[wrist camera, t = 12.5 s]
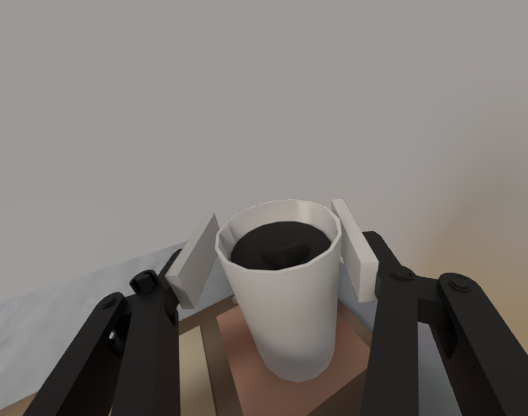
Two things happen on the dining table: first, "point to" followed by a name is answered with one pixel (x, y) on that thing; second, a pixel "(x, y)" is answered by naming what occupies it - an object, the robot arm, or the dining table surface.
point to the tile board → (258, 370)
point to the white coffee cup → (286, 281)
